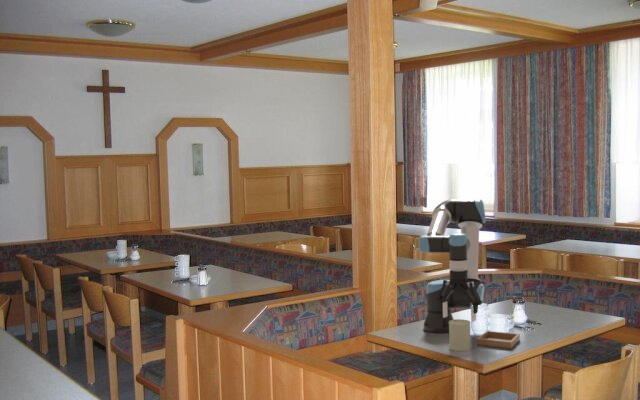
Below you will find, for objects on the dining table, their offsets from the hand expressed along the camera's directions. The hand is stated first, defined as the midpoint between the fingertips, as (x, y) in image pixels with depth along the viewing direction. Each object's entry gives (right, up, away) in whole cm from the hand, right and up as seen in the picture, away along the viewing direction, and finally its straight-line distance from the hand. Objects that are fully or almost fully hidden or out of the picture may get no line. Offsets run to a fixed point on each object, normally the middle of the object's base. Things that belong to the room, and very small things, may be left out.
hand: (459, 318), depth 300 cm
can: (+1, -13, +1) cm, 13 cm away
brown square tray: (+19, -12, +7) cm, 23 cm away
